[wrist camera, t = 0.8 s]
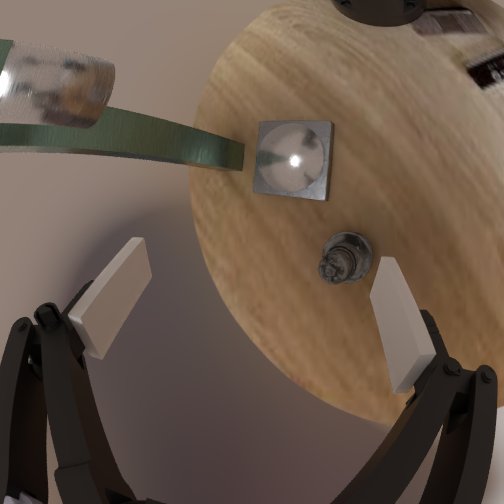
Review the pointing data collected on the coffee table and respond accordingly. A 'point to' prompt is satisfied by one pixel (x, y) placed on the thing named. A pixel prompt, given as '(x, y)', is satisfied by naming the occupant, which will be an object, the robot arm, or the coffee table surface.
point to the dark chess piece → (345, 258)
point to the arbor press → (141, 125)
